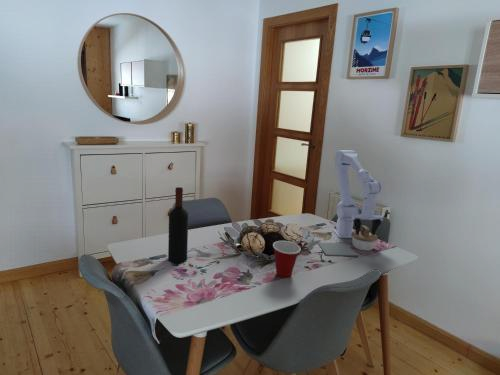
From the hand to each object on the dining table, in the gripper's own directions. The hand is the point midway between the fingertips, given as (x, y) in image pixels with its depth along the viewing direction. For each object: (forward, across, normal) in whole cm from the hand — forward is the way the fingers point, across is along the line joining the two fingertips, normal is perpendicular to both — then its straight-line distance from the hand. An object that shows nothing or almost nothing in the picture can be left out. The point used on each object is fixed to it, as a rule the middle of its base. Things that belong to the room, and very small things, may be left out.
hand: (365, 234), depth 179 cm
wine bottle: (+7, -86, -18) cm, 88 cm away
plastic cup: (+7, -44, -30) cm, 54 cm away
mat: (+6, -14, -4) cm, 16 cm away
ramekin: (+7, 0, 0) cm, 7 cm away
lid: (+1, 0, 0) cm, 1 cm away
